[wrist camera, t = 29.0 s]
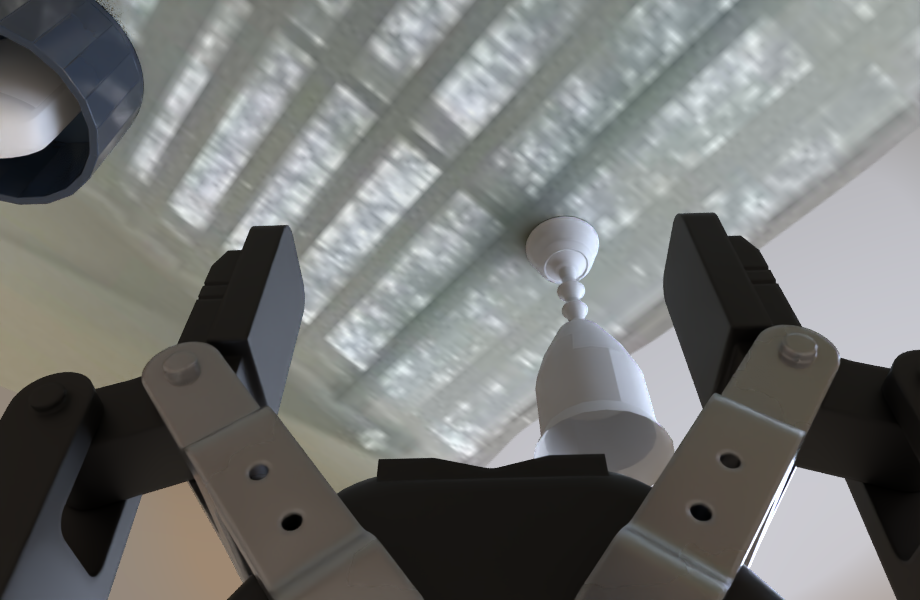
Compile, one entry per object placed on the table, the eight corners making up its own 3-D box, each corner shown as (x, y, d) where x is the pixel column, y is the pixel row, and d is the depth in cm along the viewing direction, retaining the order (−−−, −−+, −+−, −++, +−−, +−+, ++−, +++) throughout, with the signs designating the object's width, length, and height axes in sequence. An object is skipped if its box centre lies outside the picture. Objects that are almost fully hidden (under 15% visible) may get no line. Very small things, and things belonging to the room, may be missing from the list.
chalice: (490, 240, 49) (504, 450, 35) (572, 184, 46) (623, 387, 32) (552, 302, 53) (587, 515, 39) (632, 254, 50) (700, 464, 36)
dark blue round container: (-80, -26, 38) (-169, 18, 33) (108, -33, 38) (51, 10, 32) (4, 147, 44) (-58, 207, 39) (165, 141, 44) (125, 201, 39)
